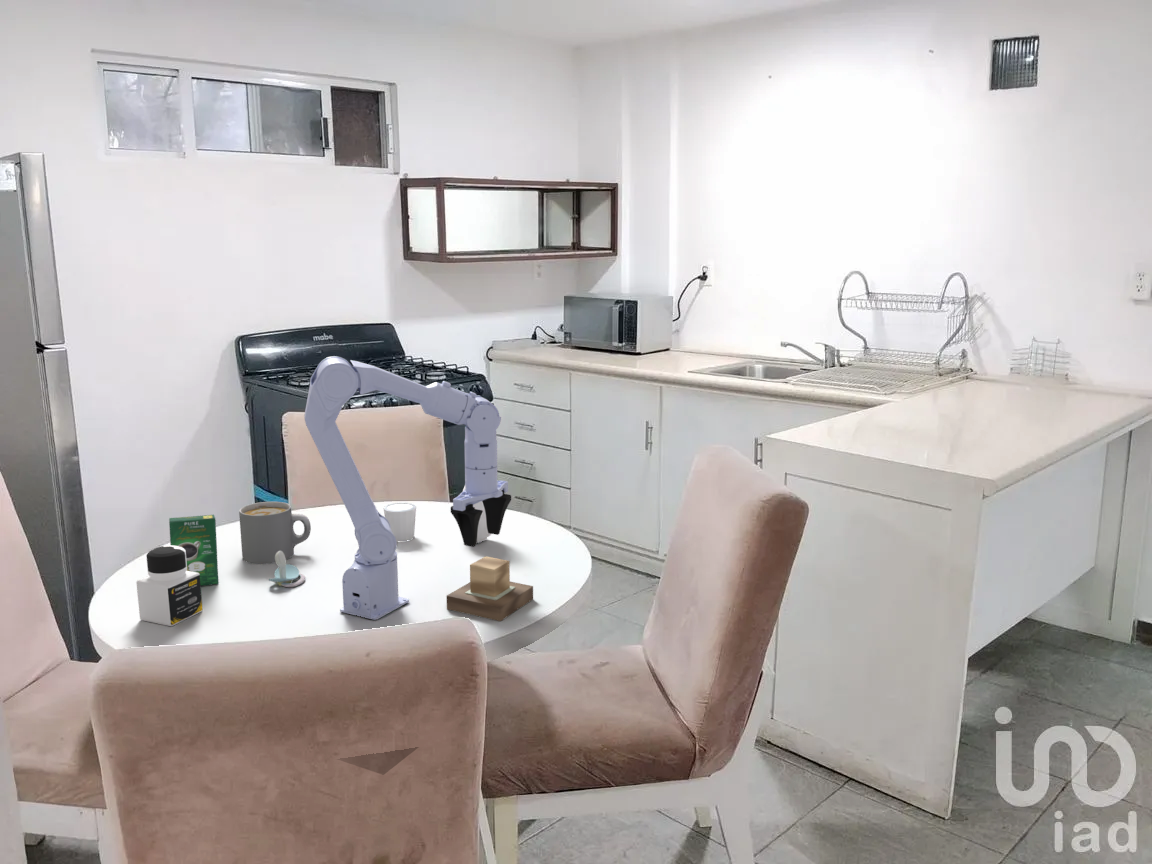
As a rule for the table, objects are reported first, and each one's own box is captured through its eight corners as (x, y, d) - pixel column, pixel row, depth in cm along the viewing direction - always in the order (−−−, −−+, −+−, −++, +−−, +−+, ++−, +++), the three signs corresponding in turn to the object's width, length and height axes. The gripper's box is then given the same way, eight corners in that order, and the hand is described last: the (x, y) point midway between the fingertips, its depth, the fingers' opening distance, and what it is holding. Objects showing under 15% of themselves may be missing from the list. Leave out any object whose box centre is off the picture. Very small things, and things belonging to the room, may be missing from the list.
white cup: (409, 544, 192) (408, 512, 191) (379, 541, 194) (378, 510, 192) (421, 534, 199) (420, 503, 198) (392, 531, 200) (391, 501, 199)
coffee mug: (236, 564, 180) (232, 516, 178) (250, 548, 189) (246, 501, 187) (305, 563, 181) (302, 514, 179) (315, 546, 190) (313, 500, 188)
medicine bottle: (171, 627, 150) (165, 558, 148) (139, 620, 153) (132, 552, 150) (203, 611, 157) (198, 545, 154) (171, 605, 159) (166, 539, 157)
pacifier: (309, 576, 174) (277, 575, 174) (308, 545, 173) (276, 544, 173) (299, 590, 167) (266, 590, 167) (298, 558, 166) (265, 557, 166)
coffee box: (219, 579, 172) (214, 512, 169) (220, 584, 169) (215, 516, 166) (173, 585, 169) (167, 517, 166) (173, 590, 166) (167, 521, 163)
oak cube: (494, 597, 157) (494, 569, 156) (470, 591, 159) (469, 564, 158) (509, 587, 161) (509, 560, 160) (485, 582, 163) (485, 556, 162)
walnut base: (500, 621, 153) (500, 606, 153) (446, 609, 158) (446, 594, 158) (533, 599, 163) (533, 585, 162) (481, 588, 168) (481, 574, 167)
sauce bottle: (481, 549, 189) (480, 465, 186) (452, 543, 193) (450, 460, 190) (504, 539, 196) (503, 458, 192) (475, 533, 200) (473, 453, 196)
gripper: (476, 477, 152) (477, 554, 155) (521, 460, 165) (522, 531, 168) (442, 472, 156) (444, 548, 158) (489, 455, 168) (490, 526, 171)
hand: (482, 539), depth 163 cm, fingers open, 7 cm apart
